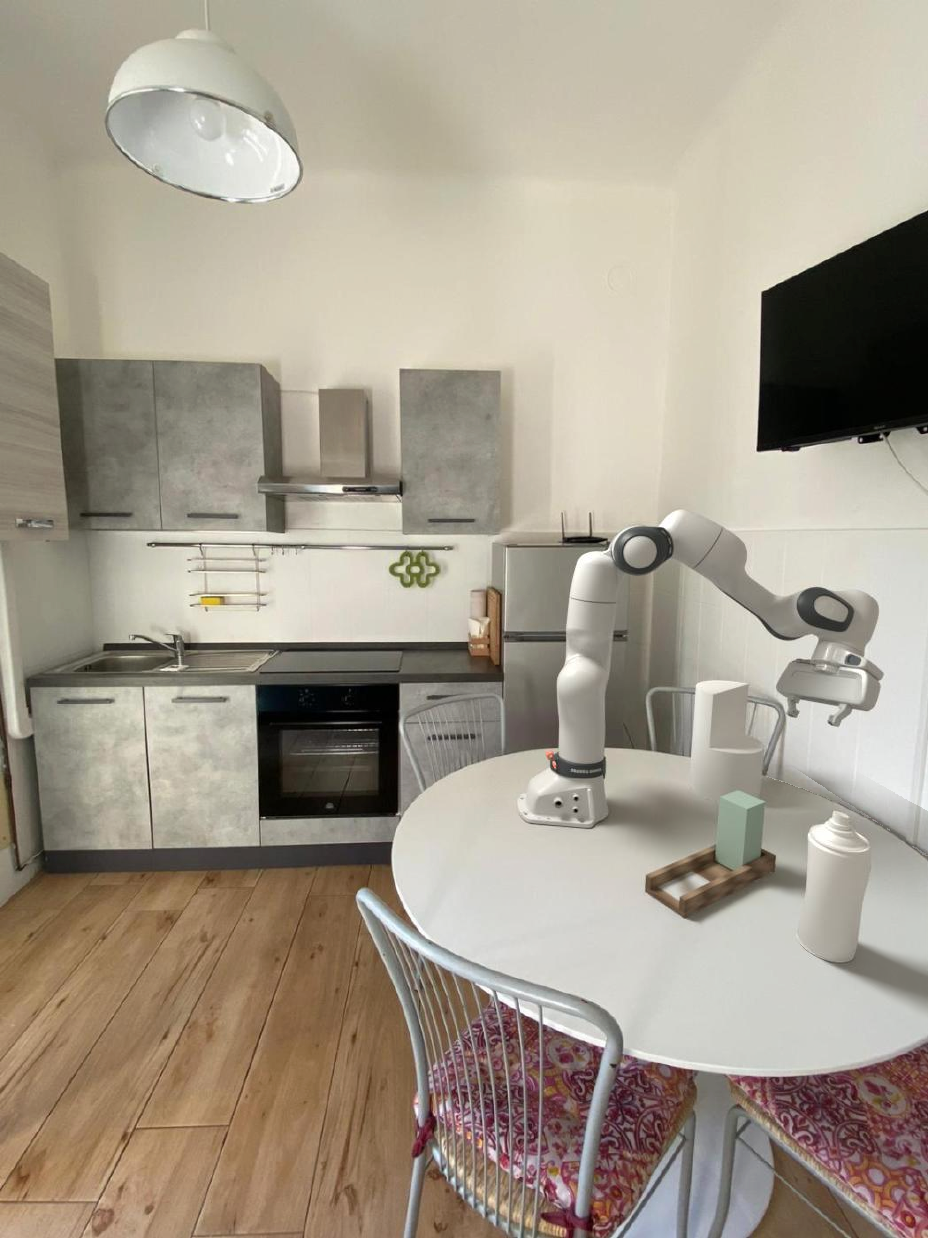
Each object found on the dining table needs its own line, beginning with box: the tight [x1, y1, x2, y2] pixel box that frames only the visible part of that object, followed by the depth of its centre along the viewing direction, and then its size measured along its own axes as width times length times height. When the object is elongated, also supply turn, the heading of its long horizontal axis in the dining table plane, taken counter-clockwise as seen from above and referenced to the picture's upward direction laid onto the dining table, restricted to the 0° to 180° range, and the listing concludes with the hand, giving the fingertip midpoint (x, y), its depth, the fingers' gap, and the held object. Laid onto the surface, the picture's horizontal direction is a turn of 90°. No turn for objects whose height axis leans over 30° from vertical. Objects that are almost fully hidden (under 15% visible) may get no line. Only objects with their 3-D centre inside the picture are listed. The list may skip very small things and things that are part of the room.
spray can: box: [795, 810, 872, 964], centre depth 95 cm, size 12×11×25 cm
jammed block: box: [715, 790, 766, 871], centre depth 118 cm, size 6×6×14 cm
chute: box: [644, 843, 777, 919], centre depth 115 cm, size 28×9×4 cm, turn 121°
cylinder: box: [688, 679, 765, 804], centre depth 153 cm, size 17×17×28 cm
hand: (811, 720), depth 122 cm, fingers open, 8 cm apart
